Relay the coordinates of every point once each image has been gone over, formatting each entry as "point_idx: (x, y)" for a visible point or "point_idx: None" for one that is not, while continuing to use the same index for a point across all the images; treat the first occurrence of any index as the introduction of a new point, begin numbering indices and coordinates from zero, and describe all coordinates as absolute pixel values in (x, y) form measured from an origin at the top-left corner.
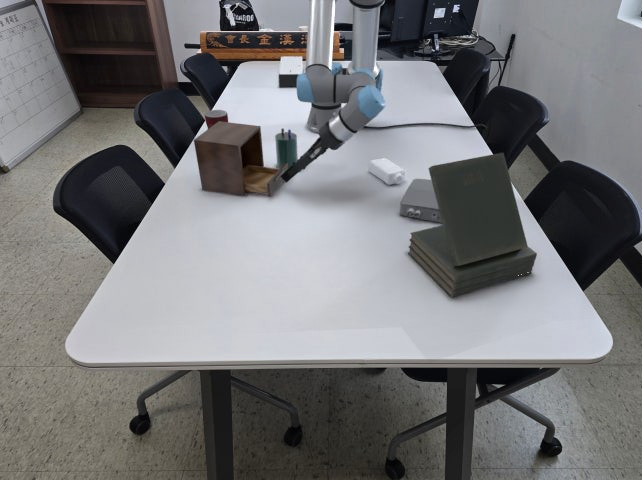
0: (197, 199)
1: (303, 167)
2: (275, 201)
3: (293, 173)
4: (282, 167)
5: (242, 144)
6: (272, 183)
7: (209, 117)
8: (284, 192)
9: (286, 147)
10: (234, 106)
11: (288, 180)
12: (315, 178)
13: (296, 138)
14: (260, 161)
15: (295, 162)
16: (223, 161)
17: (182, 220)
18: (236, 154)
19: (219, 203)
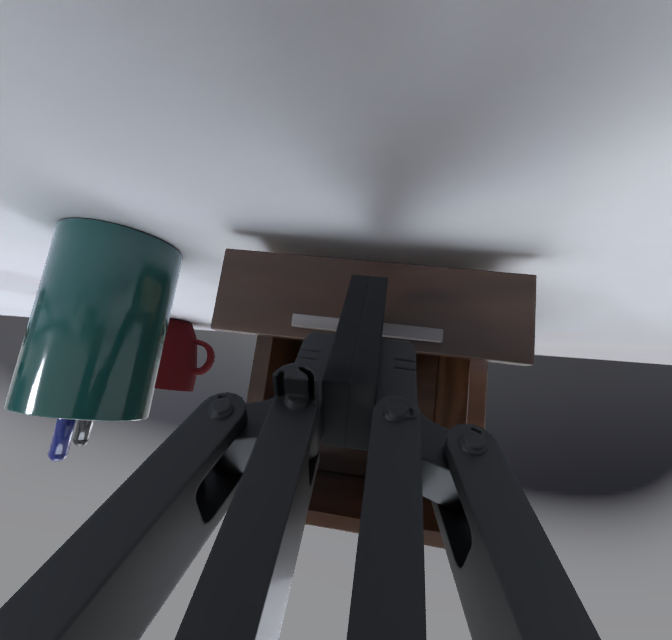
0: None
1: (555, 572)
2: (569, 239)
3: (415, 375)
4: (283, 337)
5: (435, 535)
6: (484, 338)
7: (191, 390)
8: (423, 222)
9: (129, 376)
10: (29, 312)
11: (386, 294)
12: (54, 104)
13: (25, 403)
14: (273, 346)
15: (326, 442)
16: None
17: (662, 349)
18: None
19: (551, 323)
